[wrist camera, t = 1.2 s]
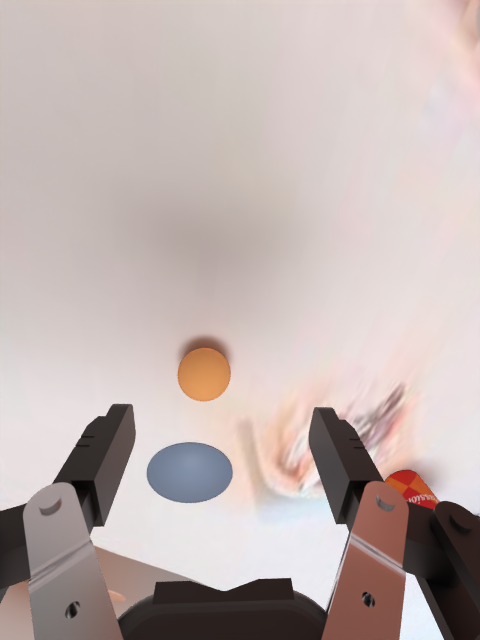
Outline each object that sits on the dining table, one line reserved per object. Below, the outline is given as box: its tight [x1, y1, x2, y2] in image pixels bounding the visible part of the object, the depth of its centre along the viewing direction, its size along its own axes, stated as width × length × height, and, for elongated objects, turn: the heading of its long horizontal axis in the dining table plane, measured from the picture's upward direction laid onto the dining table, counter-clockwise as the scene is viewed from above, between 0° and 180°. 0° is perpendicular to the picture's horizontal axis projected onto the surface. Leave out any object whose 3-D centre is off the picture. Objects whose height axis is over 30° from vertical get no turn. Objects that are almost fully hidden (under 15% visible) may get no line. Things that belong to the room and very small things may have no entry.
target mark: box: [147, 443, 232, 503], centre depth 40 cm, size 12×12×1 cm
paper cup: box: [385, 470, 440, 509], centre depth 37 cm, size 8×8×14 cm
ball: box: [178, 348, 231, 401], centre depth 30 cm, size 6×6×6 cm
